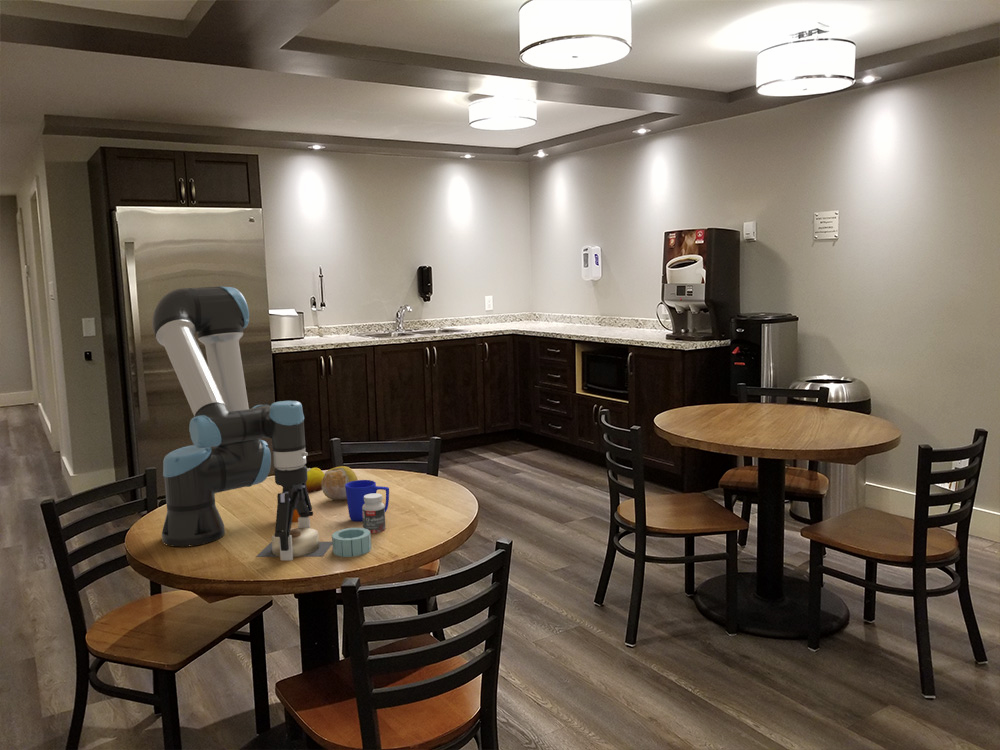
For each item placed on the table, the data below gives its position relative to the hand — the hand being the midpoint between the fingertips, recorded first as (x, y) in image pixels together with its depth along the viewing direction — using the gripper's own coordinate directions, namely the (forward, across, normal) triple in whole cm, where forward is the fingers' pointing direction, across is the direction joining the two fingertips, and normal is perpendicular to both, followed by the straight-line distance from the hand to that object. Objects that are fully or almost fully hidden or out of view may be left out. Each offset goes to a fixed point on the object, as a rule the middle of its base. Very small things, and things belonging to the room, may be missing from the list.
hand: (296, 552), depth 189 cm
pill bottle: (0, +14, -16) cm, 21 cm away
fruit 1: (0, +57, +15) cm, 59 cm away
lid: (-1, 0, 0) cm, 1 cm away
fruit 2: (0, +44, +1) cm, 44 cm away
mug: (0, +25, -12) cm, 28 cm away
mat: (0, 0, 0) cm, 0 cm away
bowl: (0, -1, -14) cm, 14 cm away
